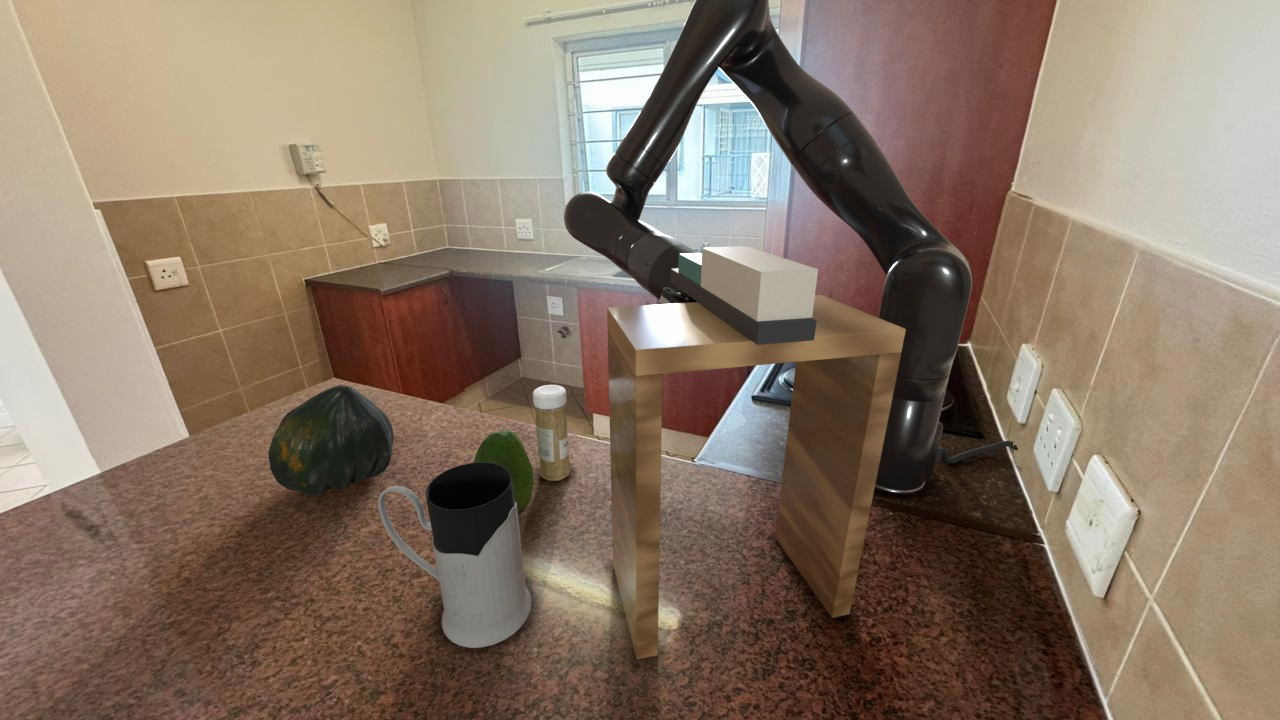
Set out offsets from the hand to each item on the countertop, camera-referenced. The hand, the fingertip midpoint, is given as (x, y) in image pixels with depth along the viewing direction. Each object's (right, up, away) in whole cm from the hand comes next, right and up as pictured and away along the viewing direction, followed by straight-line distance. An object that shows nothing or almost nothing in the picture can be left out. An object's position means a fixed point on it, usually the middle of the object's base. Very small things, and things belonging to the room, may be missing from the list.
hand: (764, 334), depth 54 cm
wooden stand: (-5, -27, -1) cm, 28 cm away
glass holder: (-32, -28, -3) cm, 43 cm away
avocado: (-31, -23, +11) cm, 40 cm away
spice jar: (-26, -20, +19) cm, 38 cm away
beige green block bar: (-5, +2, -8) cm, 10 cm away
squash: (-57, -20, +19) cm, 63 cm away
